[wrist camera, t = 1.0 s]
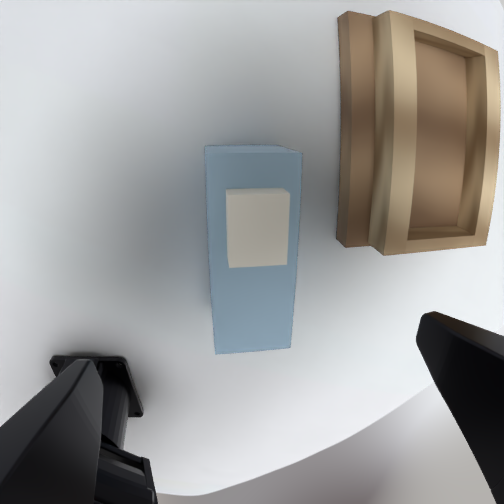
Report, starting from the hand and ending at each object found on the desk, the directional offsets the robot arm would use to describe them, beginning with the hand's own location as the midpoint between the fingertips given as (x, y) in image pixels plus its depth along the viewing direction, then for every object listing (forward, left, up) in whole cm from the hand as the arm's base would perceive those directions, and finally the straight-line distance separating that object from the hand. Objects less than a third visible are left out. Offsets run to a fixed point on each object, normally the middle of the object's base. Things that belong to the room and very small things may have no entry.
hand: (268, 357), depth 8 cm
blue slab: (-1, -1, -12) cm, 12 cm away
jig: (+5, -13, -12) cm, 18 cm away
